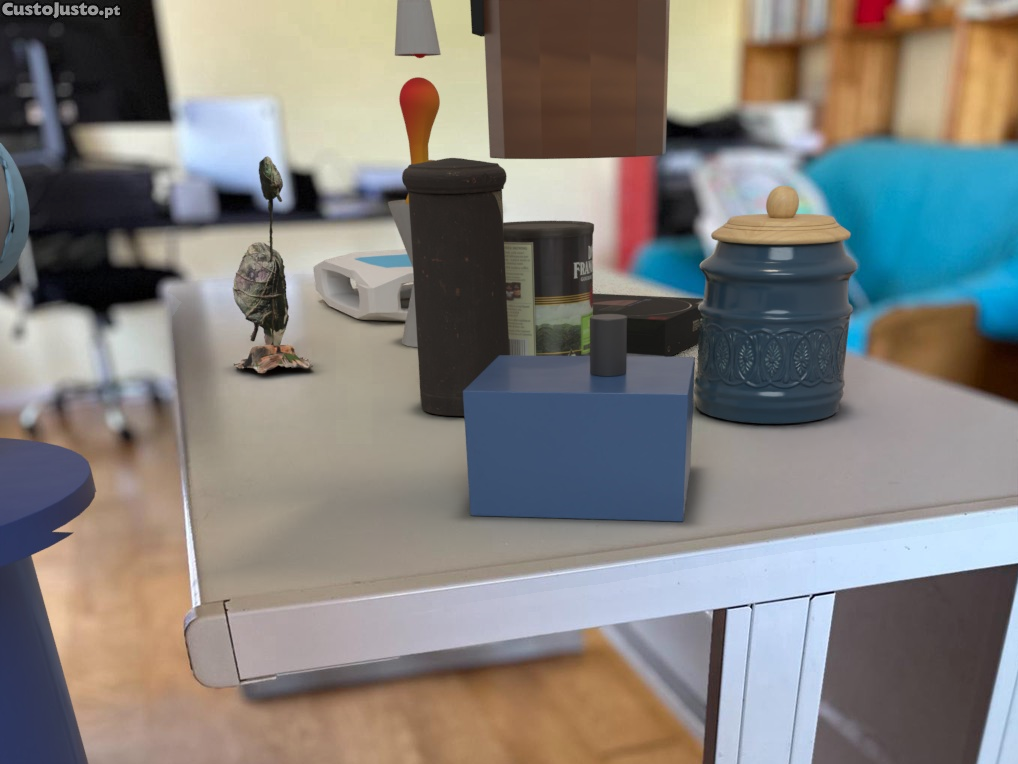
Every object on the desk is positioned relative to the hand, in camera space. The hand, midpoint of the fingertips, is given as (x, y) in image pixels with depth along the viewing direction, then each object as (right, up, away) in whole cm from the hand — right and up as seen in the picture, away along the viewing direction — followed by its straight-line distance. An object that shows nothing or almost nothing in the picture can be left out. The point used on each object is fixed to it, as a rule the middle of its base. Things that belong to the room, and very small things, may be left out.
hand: (496, 33), depth 65 cm
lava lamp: (-11, +6, +65) cm, 66 cm away
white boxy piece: (-17, +20, +90) cm, 93 cm away
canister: (+22, -12, +32) cm, 41 cm away
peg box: (+6, -24, +11) cm, 28 cm away
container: (-5, -11, +35) cm, 37 cm away
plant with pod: (-27, -2, +52) cm, 59 cm away
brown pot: (+5, -6, +3) cm, 8 cm away
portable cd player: (+11, +5, +62) cm, 64 cm away
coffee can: (+2, -5, +45) cm, 46 cm away
